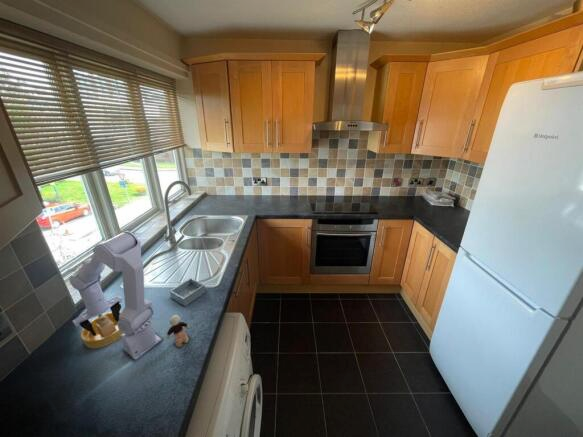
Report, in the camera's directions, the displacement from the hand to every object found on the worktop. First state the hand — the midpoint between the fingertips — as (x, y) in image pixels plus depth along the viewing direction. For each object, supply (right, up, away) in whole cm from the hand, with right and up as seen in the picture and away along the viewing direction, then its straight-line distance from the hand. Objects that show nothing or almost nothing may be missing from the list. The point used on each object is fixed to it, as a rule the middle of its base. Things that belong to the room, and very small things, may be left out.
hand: (105, 327), depth 90 cm
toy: (0, -2, +1) cm, 2 cm away
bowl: (0, -3, +1) cm, 3 cm away
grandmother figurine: (+30, -4, -3) cm, 31 cm away
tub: (+23, +6, +21) cm, 31 cm away
